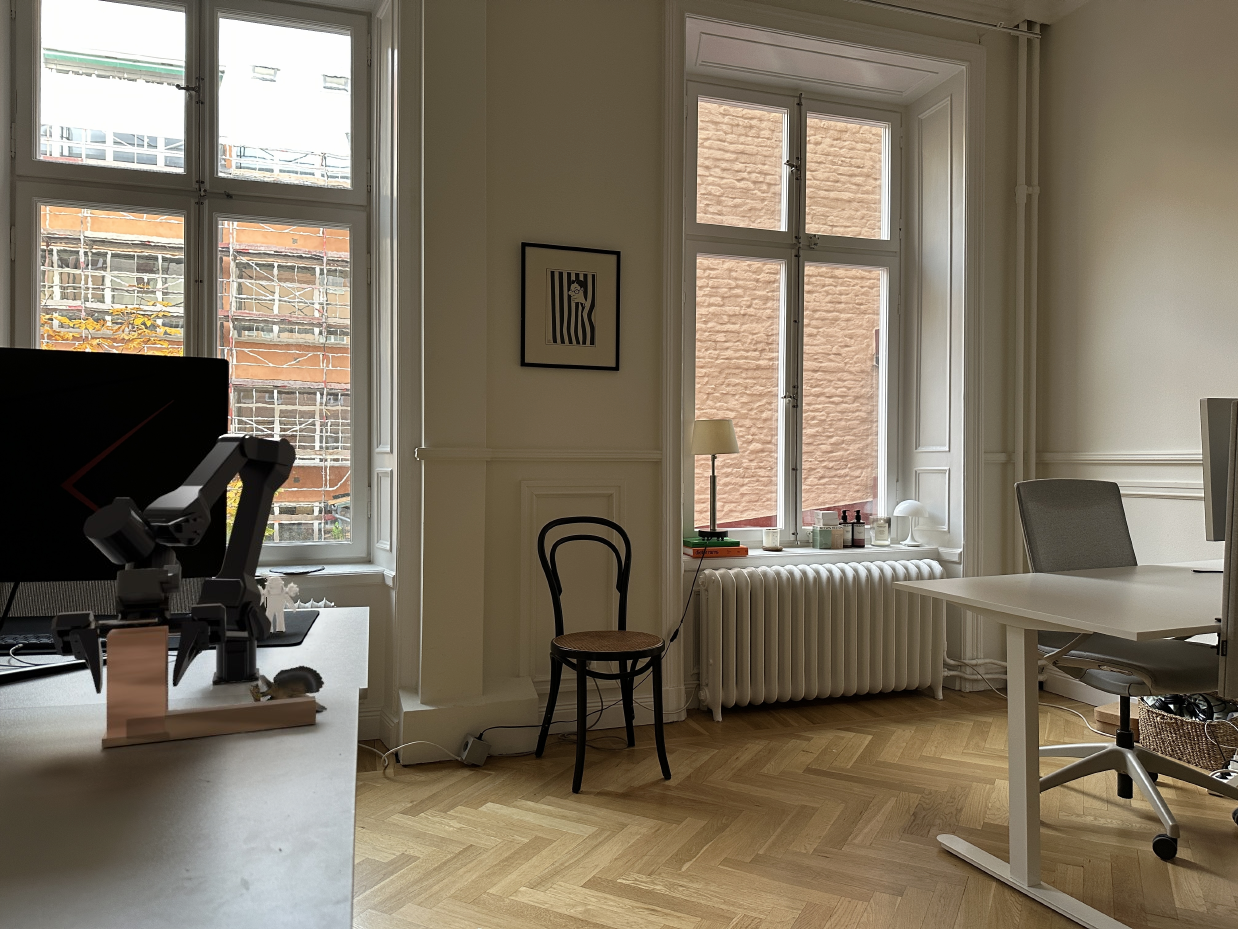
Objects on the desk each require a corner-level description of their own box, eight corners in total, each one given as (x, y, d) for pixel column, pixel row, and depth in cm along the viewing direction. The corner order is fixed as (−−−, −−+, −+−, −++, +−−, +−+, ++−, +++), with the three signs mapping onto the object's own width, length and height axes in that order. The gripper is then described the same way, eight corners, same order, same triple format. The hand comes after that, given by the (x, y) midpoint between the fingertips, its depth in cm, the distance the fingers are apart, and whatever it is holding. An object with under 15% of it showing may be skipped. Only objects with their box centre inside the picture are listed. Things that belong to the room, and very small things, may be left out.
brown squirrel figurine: (253, 719, 106) (327, 698, 109) (244, 666, 109) (317, 648, 113) (260, 735, 112) (330, 715, 116) (252, 685, 115) (320, 667, 119)
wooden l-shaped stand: (115, 723, 107) (115, 621, 107) (311, 703, 116) (311, 609, 116) (101, 747, 98) (101, 635, 98) (315, 723, 107) (315, 621, 107)
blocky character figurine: (250, 635, 164) (250, 573, 164) (249, 631, 168) (250, 571, 168) (299, 631, 168) (299, 571, 168) (298, 627, 172) (298, 569, 172)
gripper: (54, 546, 101) (30, 657, 91) (225, 540, 108) (221, 643, 98) (68, 602, 108) (47, 710, 98) (227, 593, 116) (224, 693, 105)
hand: (136, 688), depth 100 cm, fingers open, 8 cm apart
